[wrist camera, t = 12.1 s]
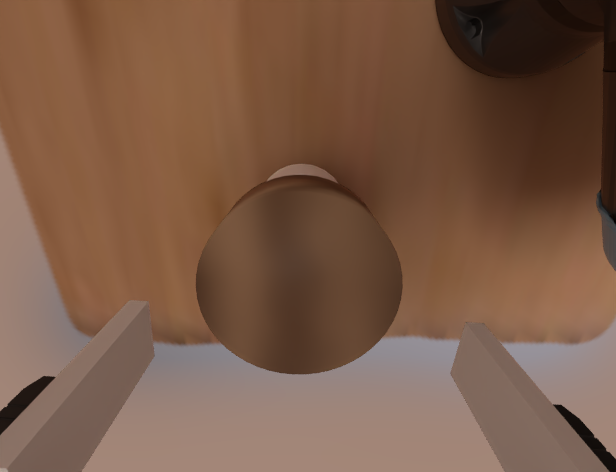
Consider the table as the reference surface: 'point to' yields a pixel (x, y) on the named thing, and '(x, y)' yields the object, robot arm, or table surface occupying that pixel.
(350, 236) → the walnut lid
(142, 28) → the table surface
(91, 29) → the table surface
